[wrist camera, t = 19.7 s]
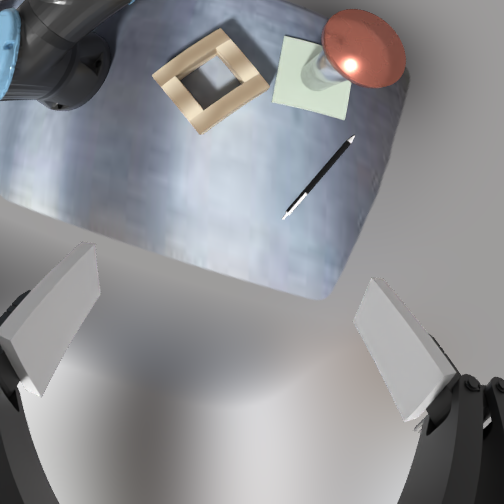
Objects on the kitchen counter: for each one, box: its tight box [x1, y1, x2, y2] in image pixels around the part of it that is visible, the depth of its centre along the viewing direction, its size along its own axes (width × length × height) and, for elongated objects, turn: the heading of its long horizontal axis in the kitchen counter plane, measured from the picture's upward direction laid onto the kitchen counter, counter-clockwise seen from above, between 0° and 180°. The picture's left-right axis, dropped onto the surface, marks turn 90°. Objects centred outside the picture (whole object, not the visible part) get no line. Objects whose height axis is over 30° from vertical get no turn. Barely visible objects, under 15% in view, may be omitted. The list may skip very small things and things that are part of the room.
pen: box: [282, 135, 355, 220], centre depth 42 cm, size 1×19×1 cm, turn 142°
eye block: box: [152, 28, 270, 135], centre depth 33 cm, size 12×12×4 cm
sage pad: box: [272, 36, 351, 120], centre depth 35 cm, size 12×12×1 cm
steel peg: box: [300, 9, 406, 91], centre depth 26 cm, size 9×9×18 cm
